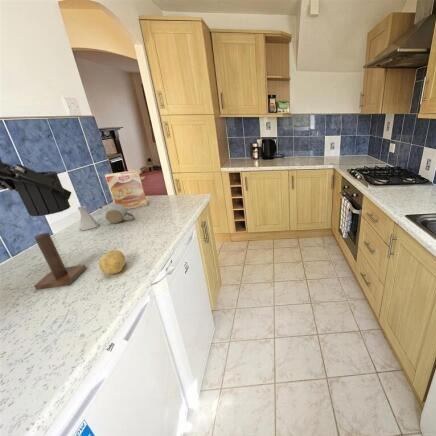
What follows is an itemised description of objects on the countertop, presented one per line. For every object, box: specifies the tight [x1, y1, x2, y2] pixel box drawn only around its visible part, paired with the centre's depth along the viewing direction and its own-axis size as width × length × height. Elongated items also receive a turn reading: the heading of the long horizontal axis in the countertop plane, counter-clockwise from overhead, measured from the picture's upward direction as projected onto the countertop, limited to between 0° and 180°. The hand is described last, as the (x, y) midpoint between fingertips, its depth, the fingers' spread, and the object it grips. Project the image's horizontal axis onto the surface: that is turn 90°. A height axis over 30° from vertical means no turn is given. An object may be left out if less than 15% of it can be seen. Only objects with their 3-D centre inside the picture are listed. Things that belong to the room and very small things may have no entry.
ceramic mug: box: [105, 203, 135, 224], centre depth 119 cm, size 11×8×8 cm
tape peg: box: [33, 232, 87, 290], centre depth 74 cm, size 9×9×16 cm
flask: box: [77, 205, 100, 231], centre depth 112 cm, size 7×7×10 cm
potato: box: [98, 249, 127, 275], centre depth 80 cm, size 7×11×6 cm, turn 22°
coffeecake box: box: [104, 169, 148, 210], centre depth 134 cm, size 15×7×20 cm, turn 132°
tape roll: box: [12, 170, 72, 217], centre depth 78 cm, size 10×10×12 cm
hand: (54, 196), depth 82 cm, fingers closed on tape roll, 10 cm apart
